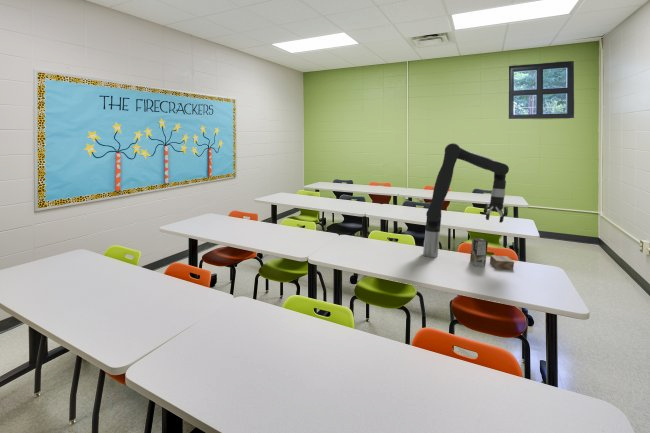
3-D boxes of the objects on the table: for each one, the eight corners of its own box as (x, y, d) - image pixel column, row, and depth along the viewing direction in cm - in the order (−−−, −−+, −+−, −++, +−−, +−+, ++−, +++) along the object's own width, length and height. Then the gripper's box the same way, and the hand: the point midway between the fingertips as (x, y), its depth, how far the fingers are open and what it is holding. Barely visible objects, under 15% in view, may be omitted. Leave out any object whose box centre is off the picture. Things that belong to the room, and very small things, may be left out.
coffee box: (485, 266, 215) (488, 241, 212) (475, 266, 215) (477, 241, 212) (479, 262, 224) (482, 237, 221) (469, 262, 224) (471, 237, 221)
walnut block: (495, 268, 212) (496, 260, 212) (489, 262, 224) (490, 255, 223) (513, 269, 211) (514, 261, 210) (506, 263, 222) (507, 256, 222)
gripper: (483, 194, 222) (480, 219, 225) (506, 197, 210) (502, 223, 213) (489, 194, 226) (486, 218, 229) (512, 197, 215) (508, 222, 218)
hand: (494, 221), depth 221 cm, fingers open, 8 cm apart
